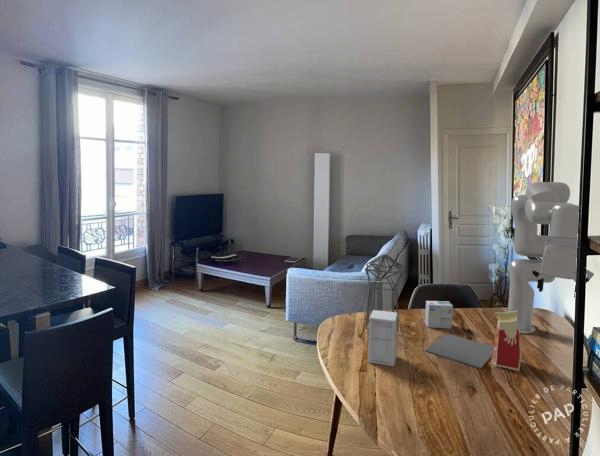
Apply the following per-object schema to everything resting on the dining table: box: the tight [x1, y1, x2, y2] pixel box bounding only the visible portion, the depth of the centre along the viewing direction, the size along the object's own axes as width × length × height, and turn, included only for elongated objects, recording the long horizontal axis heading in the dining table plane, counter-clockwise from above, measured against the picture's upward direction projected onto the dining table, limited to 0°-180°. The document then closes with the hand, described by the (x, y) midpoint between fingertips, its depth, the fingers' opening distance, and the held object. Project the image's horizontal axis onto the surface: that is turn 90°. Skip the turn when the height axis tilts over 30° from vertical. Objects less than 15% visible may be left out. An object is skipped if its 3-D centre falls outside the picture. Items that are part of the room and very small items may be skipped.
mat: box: [425, 333, 494, 370], centre depth 145 cm, size 22×20×1 cm
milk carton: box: [490, 311, 522, 372], centre depth 134 cm, size 9×9×20 cm
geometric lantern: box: [364, 253, 405, 333], centre depth 156 cm, size 16×16×35 cm
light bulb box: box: [424, 300, 454, 330], centre depth 170 cm, size 11×7×11 cm, turn 84°
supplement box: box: [367, 309, 399, 367], centre depth 136 cm, size 10×9×17 cm
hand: (557, 293), depth 123 cm, fingers open, 9 cm apart
